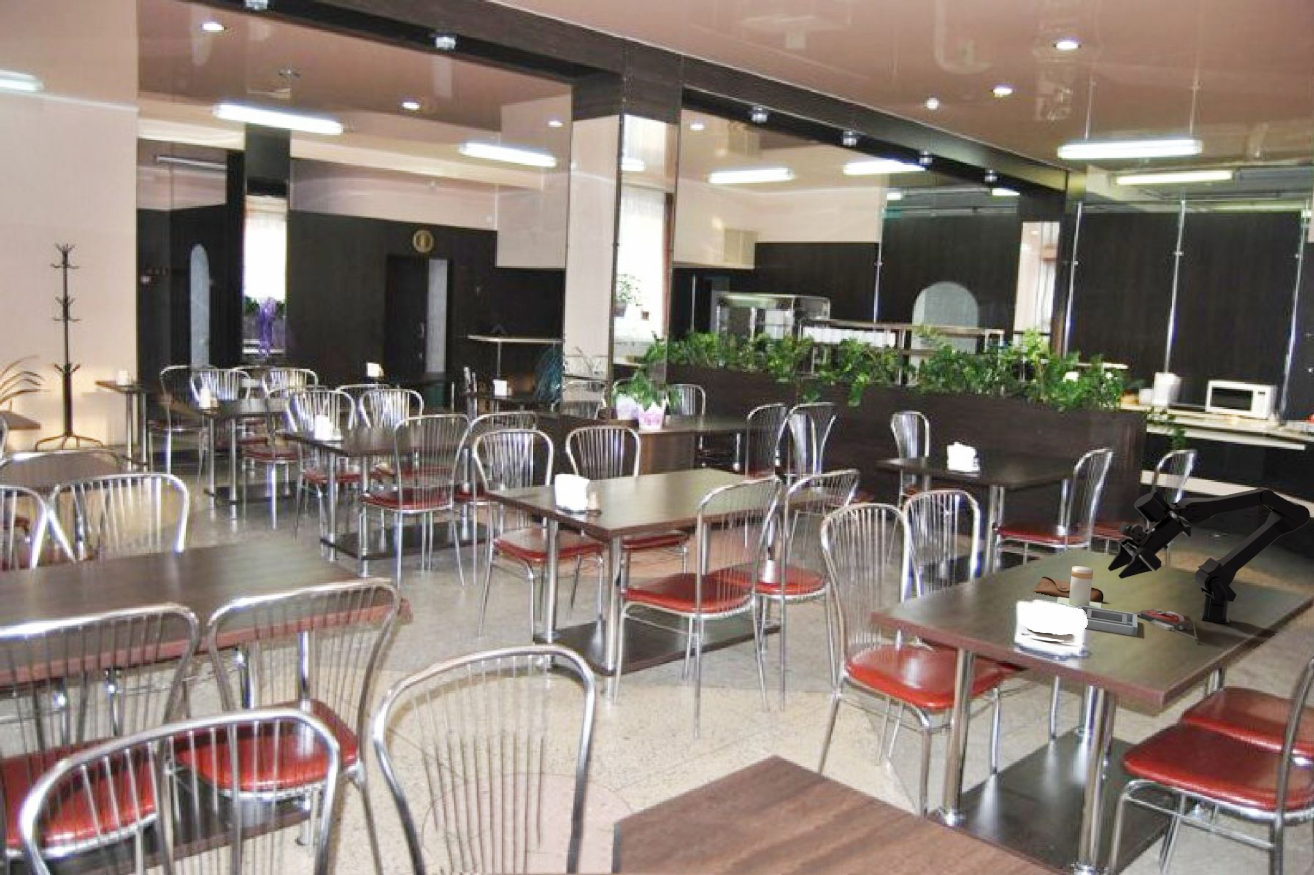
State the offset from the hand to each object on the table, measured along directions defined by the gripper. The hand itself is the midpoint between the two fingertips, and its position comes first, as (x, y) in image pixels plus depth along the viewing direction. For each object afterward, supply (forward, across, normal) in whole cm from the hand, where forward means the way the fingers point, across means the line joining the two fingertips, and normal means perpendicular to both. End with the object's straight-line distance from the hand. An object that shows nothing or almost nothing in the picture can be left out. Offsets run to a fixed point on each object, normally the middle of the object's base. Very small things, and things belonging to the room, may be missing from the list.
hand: (1114, 573), depth 267 cm
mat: (+13, -1, +2) cm, 13 cm away
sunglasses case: (+14, -13, +2) cm, 19 cm away
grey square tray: (+12, +15, +4) cm, 20 cm away
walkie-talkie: (0, +12, +16) cm, 21 cm away
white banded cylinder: (+12, -1, +1) cm, 12 cm away
